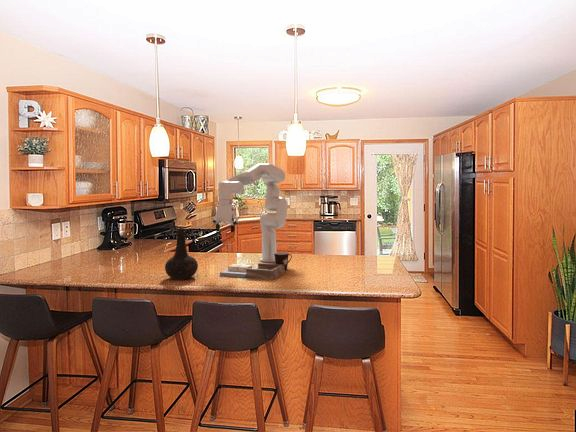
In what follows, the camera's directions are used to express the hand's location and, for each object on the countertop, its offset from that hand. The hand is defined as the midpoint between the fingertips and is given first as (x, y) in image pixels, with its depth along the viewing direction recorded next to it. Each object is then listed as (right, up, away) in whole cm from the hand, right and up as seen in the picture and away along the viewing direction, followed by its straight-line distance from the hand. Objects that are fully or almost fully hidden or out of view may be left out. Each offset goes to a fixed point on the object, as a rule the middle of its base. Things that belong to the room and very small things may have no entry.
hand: (225, 231), depth 266 cm
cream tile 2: (+12, -22, -5) cm, 26 cm away
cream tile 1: (+6, -22, -2) cm, 23 cm away
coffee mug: (+35, -23, +5) cm, 42 cm away
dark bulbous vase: (-22, -26, -12) cm, 36 cm away
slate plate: (+9, -24, -3) cm, 26 cm away
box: (+24, -24, -9) cm, 36 cm away
